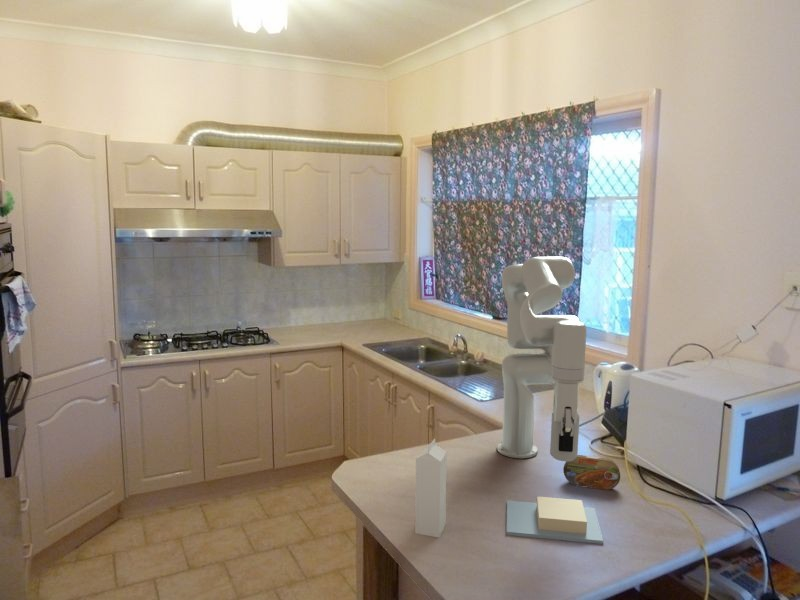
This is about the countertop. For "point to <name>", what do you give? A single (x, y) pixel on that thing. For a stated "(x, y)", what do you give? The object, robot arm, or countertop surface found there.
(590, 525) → the board
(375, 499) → the countertop surface
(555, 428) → the beverage can
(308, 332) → the countertop surface
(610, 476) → the tin
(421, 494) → the milk
